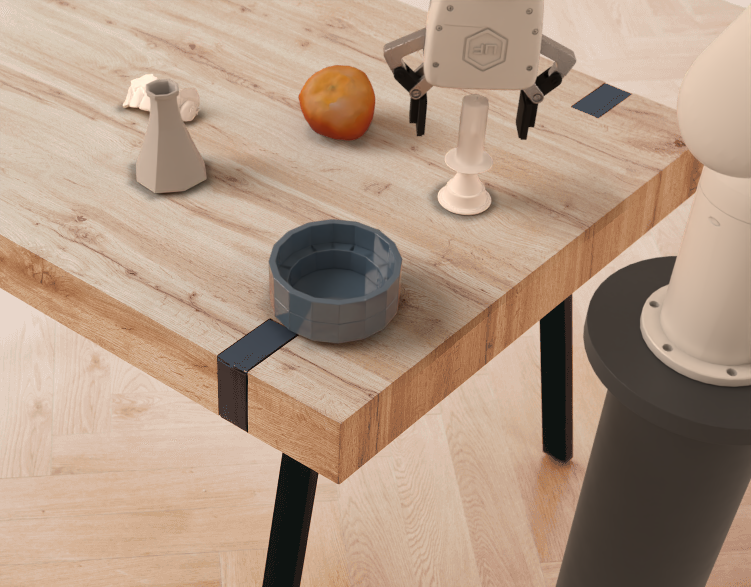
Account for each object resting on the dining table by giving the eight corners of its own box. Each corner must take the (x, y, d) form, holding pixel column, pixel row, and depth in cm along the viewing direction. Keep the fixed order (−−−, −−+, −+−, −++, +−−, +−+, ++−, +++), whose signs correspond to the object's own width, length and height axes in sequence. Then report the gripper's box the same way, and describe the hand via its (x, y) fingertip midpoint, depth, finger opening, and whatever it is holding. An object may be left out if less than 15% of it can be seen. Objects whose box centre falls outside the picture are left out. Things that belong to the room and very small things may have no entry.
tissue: (172, 134, 114) (169, 103, 111) (118, 109, 117) (113, 78, 114) (207, 112, 117) (205, 81, 115) (153, 88, 120) (150, 57, 118)
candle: (498, 212, 106) (513, 107, 98) (446, 218, 105) (457, 112, 97) (481, 181, 109) (494, 77, 102) (430, 187, 108) (440, 82, 100)
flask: (124, 164, 109) (112, 77, 103) (191, 147, 112) (183, 61, 105) (149, 203, 105) (138, 114, 98) (218, 183, 107) (212, 96, 101)
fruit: (396, 103, 117) (382, 64, 110) (366, 165, 115) (349, 129, 108) (332, 83, 120) (313, 43, 112) (301, 143, 118) (280, 107, 111)
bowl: (420, 289, 97) (424, 246, 93) (358, 365, 89) (359, 321, 86) (314, 248, 100) (314, 205, 97) (246, 317, 93) (243, 273, 90)
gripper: (390, -26, 87) (379, 149, 99) (601, -18, 88) (566, 155, 99) (388, -65, 93) (378, 105, 104) (586, -57, 94) (555, 111, 105)
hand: (470, 130), depth 102 cm, fingers open, 9 cm apart
